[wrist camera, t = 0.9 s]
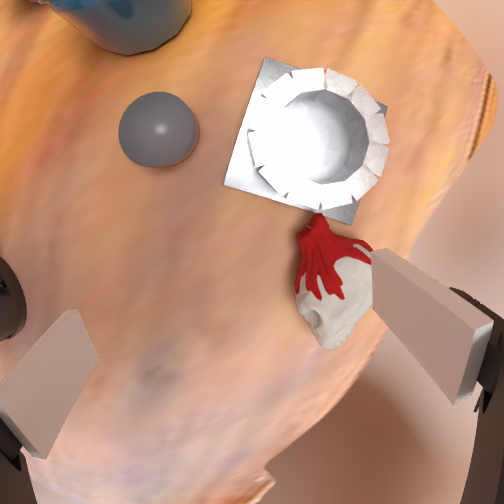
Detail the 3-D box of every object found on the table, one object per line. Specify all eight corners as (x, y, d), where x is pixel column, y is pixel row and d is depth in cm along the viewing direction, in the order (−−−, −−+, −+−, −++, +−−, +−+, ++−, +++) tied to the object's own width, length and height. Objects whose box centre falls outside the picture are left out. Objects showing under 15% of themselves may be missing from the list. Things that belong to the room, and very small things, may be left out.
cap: (129, 158, 32) (110, 158, 26) (147, 97, 30) (131, 86, 24) (189, 173, 33) (179, 174, 27) (208, 111, 31) (202, 100, 25)
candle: (316, 333, 39) (258, 241, 37) (384, 290, 38) (335, 194, 36) (329, 368, 31) (258, 256, 28) (414, 315, 29) (358, 195, 27)
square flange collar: (223, 184, 34) (221, 188, 28) (264, 59, 30) (269, 41, 24) (349, 224, 36) (367, 235, 30) (384, 107, 32) (408, 100, 26)
